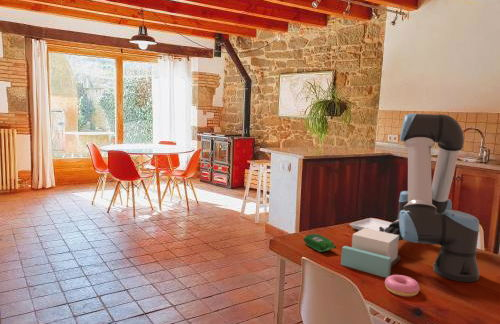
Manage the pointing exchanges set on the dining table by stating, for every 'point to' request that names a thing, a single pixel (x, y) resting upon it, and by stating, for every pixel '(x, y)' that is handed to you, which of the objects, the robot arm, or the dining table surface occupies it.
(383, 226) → the salad plate
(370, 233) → the white box
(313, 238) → the snack package
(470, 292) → the dining table surface
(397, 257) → the roller bed
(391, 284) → the doughnut
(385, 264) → the block
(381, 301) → the dining table surface
